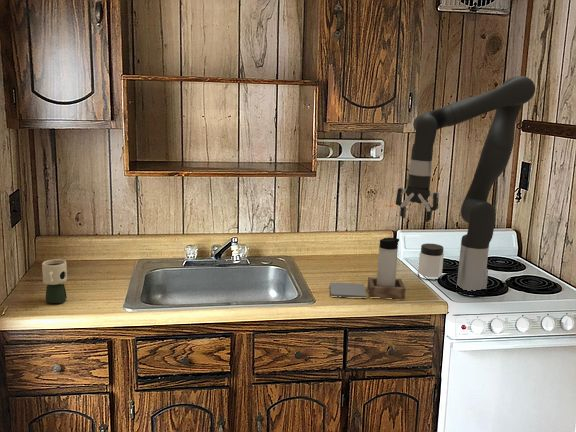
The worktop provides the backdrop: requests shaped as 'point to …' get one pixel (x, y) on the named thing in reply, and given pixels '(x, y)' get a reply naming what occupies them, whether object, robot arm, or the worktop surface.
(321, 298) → the worktop surface
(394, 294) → the walnut holder
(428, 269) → the jar
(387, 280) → the travel mug
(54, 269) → the character mug
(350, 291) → the cover plate
